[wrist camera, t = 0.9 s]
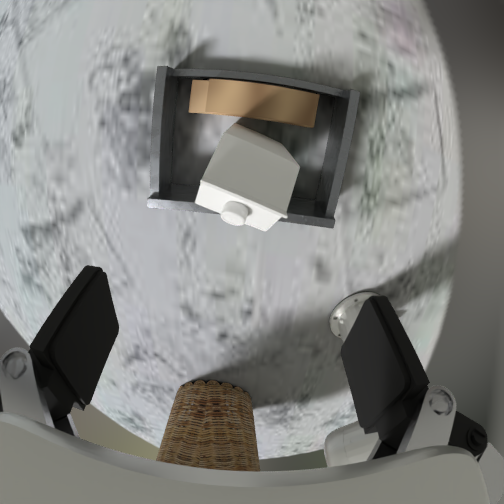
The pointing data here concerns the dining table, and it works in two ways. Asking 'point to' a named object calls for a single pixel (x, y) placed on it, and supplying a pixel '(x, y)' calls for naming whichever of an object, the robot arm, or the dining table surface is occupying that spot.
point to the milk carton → (248, 179)
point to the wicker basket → (211, 429)
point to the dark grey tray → (167, 82)
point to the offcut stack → (254, 101)
